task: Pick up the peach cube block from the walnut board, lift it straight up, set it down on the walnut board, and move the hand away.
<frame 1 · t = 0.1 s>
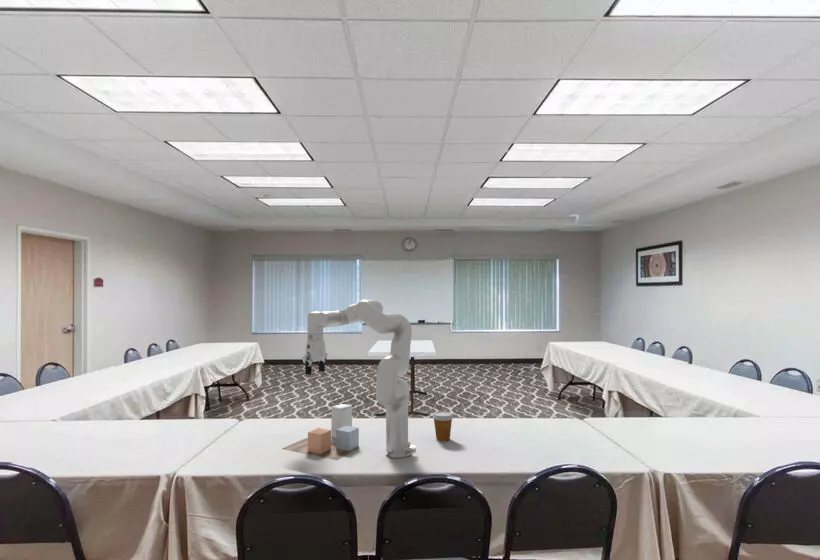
hand: (315, 372, 201), 31 cm above the table, tool pointing down, fingers open, 9 cm apart
peach cube block: (319, 449, 180), point 1 cm above the table, touching walnut board
disposable coffee cup: (443, 439, 197), on the table
marble ivory: (319, 448, 181), point 1 cm above the table, touching walnut board
marble teal: (319, 451, 178), point 1 cm above the table, touching walnut board
pale blue cube: (347, 447, 183), point 1 cm above the table, touching walnut board
walnut board: (320, 451, 182), on the table
skincare box: (341, 439, 199), on the table
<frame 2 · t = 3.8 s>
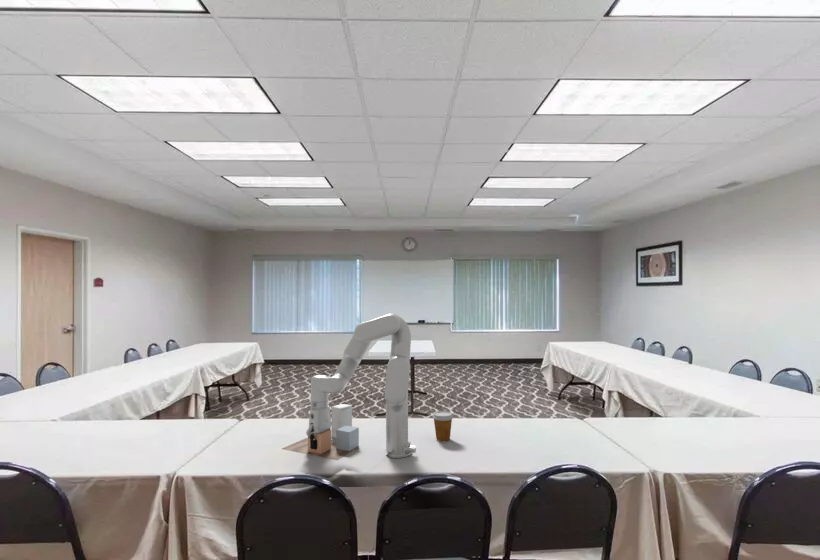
hand: (319, 445, 180), 3 cm above the table, tool pointing down, fingers closed on peach cube block, 7 cm apart
peach cube block: (319, 449, 180), point 2 cm above the table, touching gripper, walnut board
everything else where it was.
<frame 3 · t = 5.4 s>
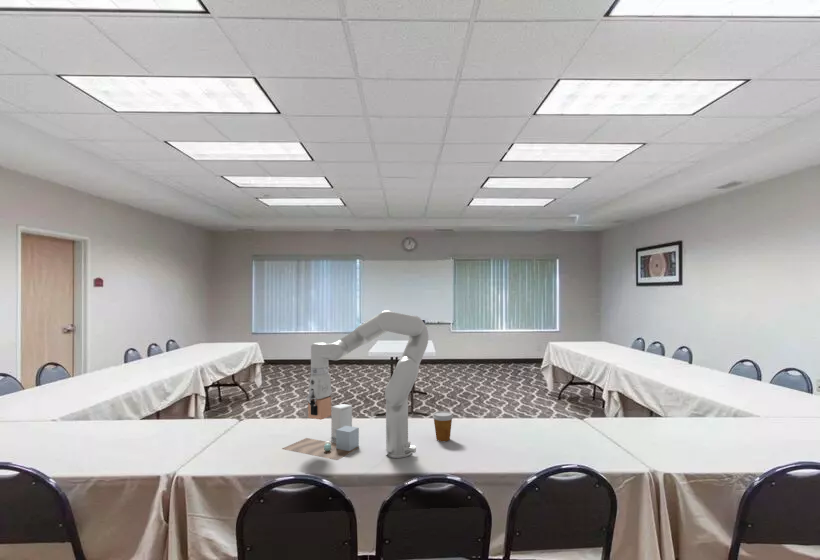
hand: (319, 412, 181), 18 cm above the table, tool pointing down, fingers closed on peach cube block, 7 cm apart
peach cube block: (319, 416, 181), point 16 cm above the table, touching gripper
marble ivory: (325, 441, 182), point 4 cm above the table, tilted 139°, touching walnut board
marble teal: (324, 445, 178), point 4 cm above the table, tilted 123°, touching walnut board
everything else where it was.
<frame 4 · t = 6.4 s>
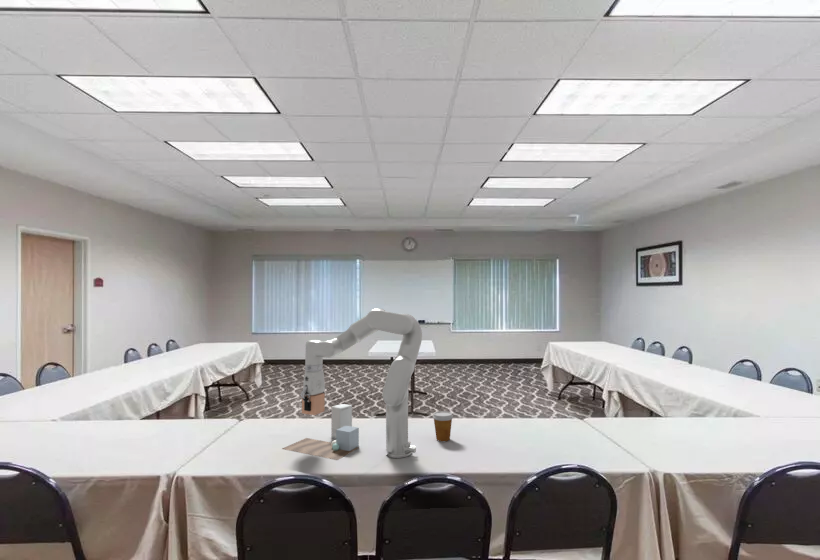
hand: (313, 408, 185), 18 cm above the table, tool pointing down, fingers closed on peach cube block, 7 cm apart
peach cube block: (313, 412, 185), point 16 cm above the table, touching gripper
marble ivory: (338, 442, 184), point 3 cm above the table, tilted 102°, touching walnut board
marble teal: (339, 446, 179), point 3 cm above the table, tilted 106°, touching walnut board
everything else where it was.
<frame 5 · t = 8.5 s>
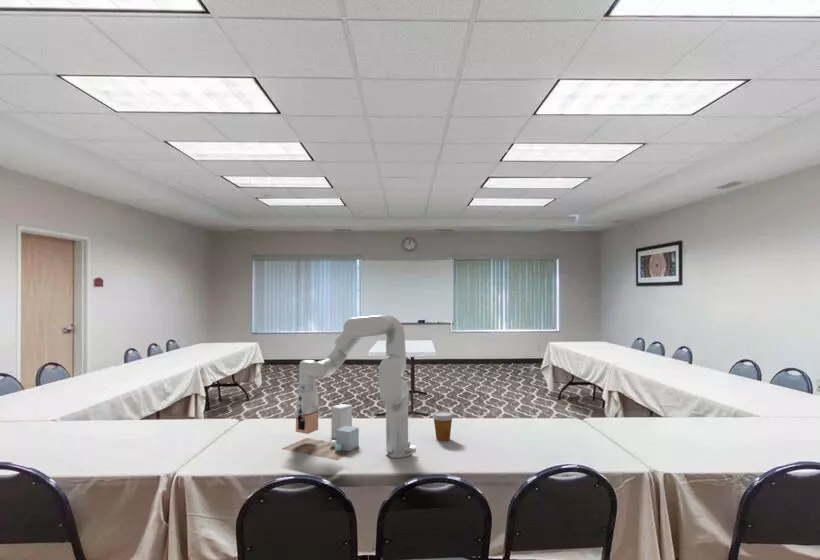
hand: (307, 426, 190), 9 cm above the table, tool pointing down, fingers closed on peach cube block, 7 cm apart
peach cube block: (307, 430, 190), point 7 cm above the table, touching gripper
marble ivory: (336, 441, 184), point 4 cm above the table, tilted 115°, touching walnut board
marble teal: (341, 448, 179), point 2 cm above the table, tilted 64°, touching walnut board
everything else where it was.
when the fingers open (5 cm above the table, at t = 10.2 s): peach cube block drops 1 cm, resting on walnut board.
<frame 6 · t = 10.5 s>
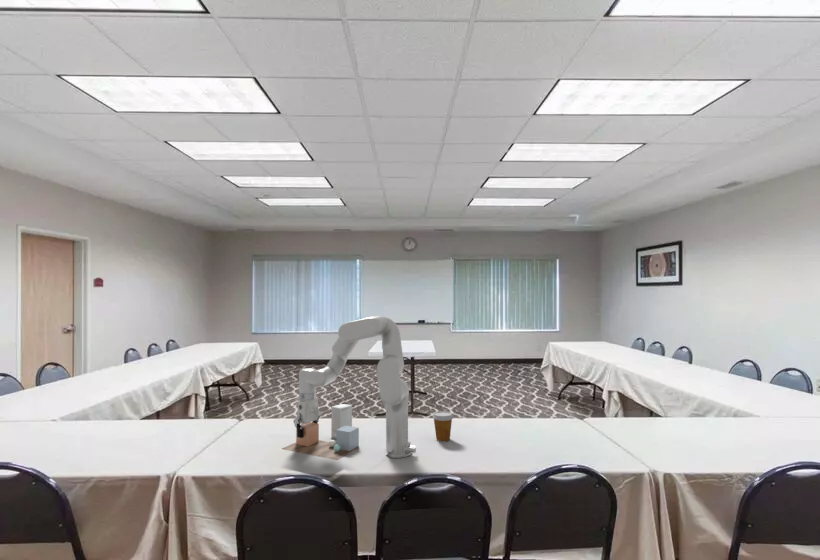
hand: (307, 434, 189), 5 cm above the table, tool pointing down, fingers open, 9 cm apart
peach cube block: (307, 442, 189), point 1 cm above the table, touching walnut board
marble ivory: (334, 440, 185), point 4 cm above the table, tilted 123°, touching walnut board
marble teal: (340, 448, 178), point 3 cm above the table, tilted 84°, touching walnut board
everything else where it was.
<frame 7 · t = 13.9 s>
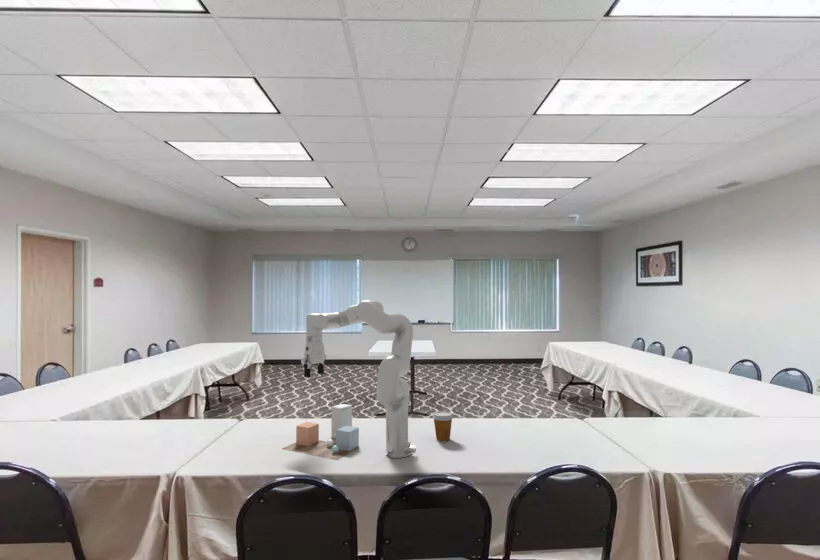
hand: (314, 375, 199), 30 cm above the table, tool pointing down, fingers open, 9 cm apart
marble ivory: (331, 440, 185), point 4 cm above the table, tilted 120°, touching walnut board
marble teal: (338, 447, 177), point 4 cm above the table, tilted 118°, touching walnut board
everything else where it was.
at the end: peach cube block inside the target area (0.2 cm from its centre), point 1.5 cm above the table; peach cube block tilted 0°; the gripper is holding nothing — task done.
